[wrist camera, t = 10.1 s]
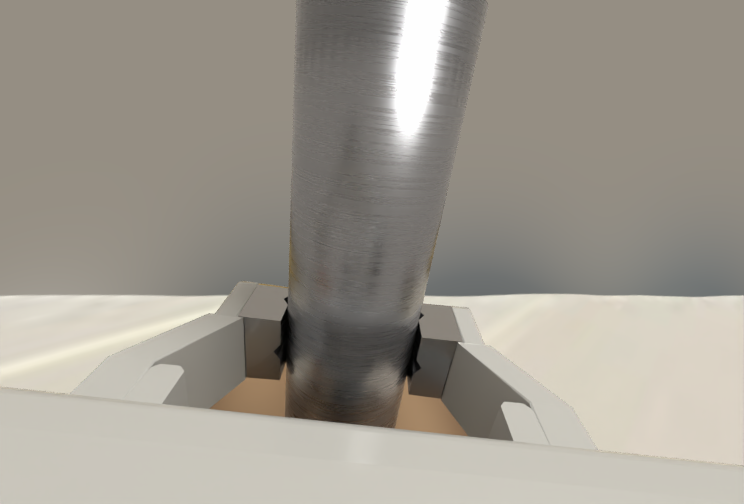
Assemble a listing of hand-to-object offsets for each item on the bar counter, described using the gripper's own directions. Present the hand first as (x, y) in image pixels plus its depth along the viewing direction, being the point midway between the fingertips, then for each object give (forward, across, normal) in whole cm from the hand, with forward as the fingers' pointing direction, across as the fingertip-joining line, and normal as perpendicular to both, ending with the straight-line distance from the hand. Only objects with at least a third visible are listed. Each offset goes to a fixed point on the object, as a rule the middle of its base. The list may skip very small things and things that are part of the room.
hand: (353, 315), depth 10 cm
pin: (-1, 0, +9) cm, 9 cm away
